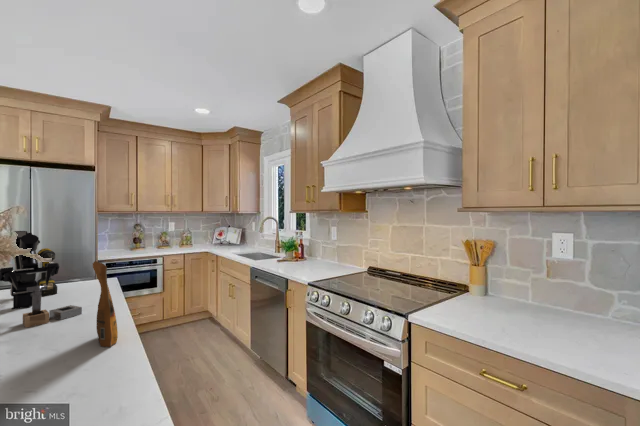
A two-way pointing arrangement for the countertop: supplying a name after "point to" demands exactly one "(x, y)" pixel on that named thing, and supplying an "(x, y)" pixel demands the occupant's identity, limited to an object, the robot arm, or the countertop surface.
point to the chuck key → (36, 298)
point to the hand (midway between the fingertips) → (32, 287)
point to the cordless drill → (51, 284)
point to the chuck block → (65, 312)
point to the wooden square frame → (35, 318)
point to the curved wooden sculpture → (105, 310)
